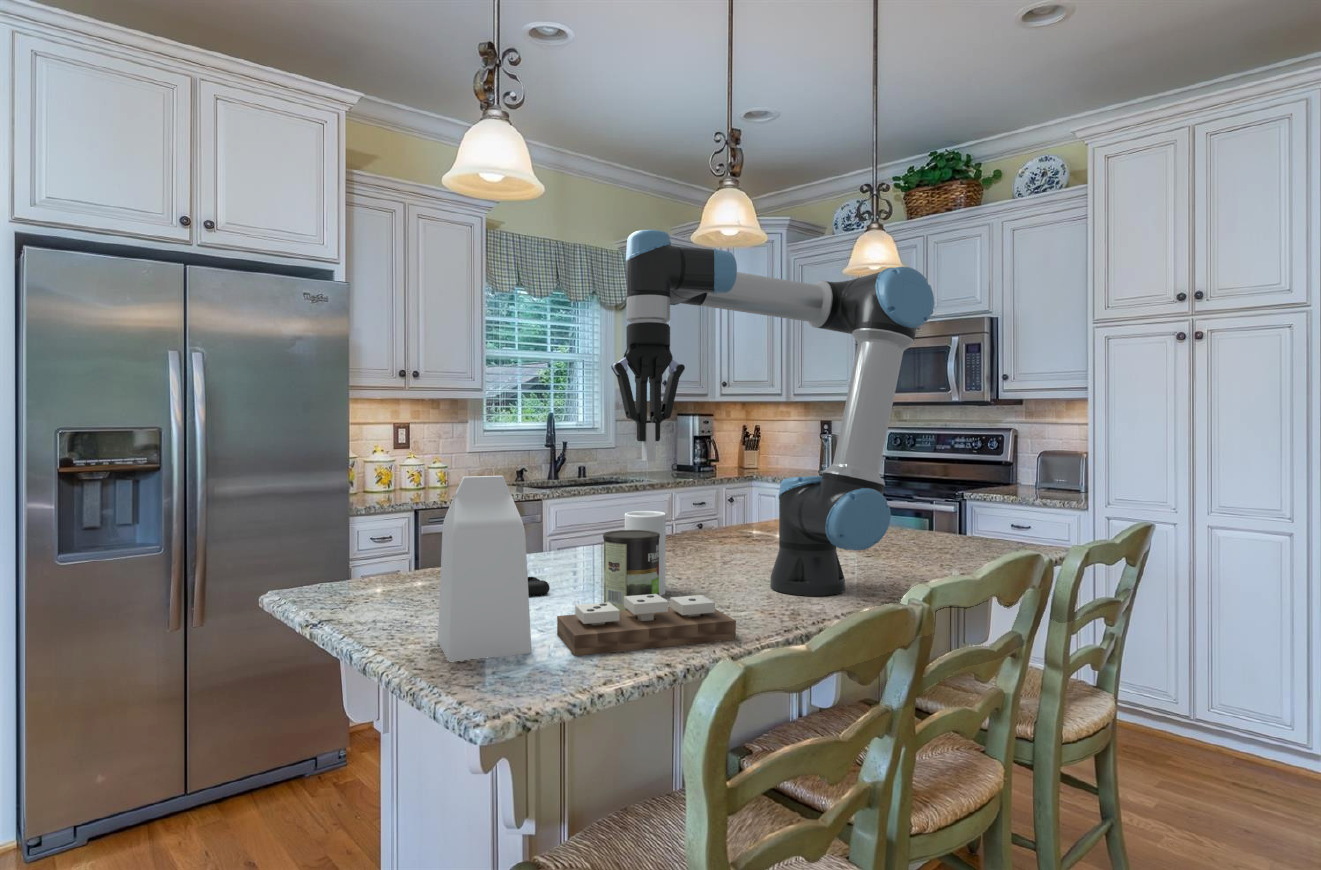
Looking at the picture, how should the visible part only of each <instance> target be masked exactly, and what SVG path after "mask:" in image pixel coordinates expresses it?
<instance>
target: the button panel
mask: <svg viewBox="0 0 1321 870" xmlns="http://www.w3.org/2000/svg"><path fill="white" fill-rule="evenodd" d="M556 617H557V618H556V632H557V633H556V635H557V637H558V638H559V639H560V640H561V641H562V642H563V643H564V645H565V647H567V649H568V650H569V651H570V652H571V654H572V655H573V656H574V657H577V656H587V655H595V654H596V655H597V654H606V653H607V654H608V653H614V652H625V651H626V652H628V651H636V650H645V649H657V648H665V647H666V648H667V647H675V646H685V645H695V644H705V643H714V642H715V643H716V642H724V641H732V640H733V641H734V640H736V639H737V637H736V636H737V620H736V619H734V618H732V617H730V616H729V615H728V614H725V613H724V612H722V611H719V610H718V609H716V608H715V612H714V613H702V614H700V616H694V617H686V616H685V615H681V614H680V613H678V612H677V611H675V610H674V609H672V608H671V607H670V606H668V612H657V613H654V620H649V621H639V620H638V614H633V613H632V612H630V611H629V610H623V611H619V621H611V622H605V624H604V625H593V626H590V625H589V623H588V624H584V623H583V622H582V621H581V620H580V619H579V618H578V617H577V616H576V615H575V614H566V615H565V614H564V615H556Z"/></svg>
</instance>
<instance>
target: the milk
mask: <svg viewBox="0 0 1321 870" xmlns="http://www.w3.org/2000/svg"><path fill="white" fill-rule="evenodd" d="M526 538H527V537H526V530H525V526H524V523H523V519H522V517H521V514H520V512H519V510H518V508H517V505H516V503H515V500H514V499H513V496H512V494H511V491H510V488H509V486H508V483H507V481H506V478H505V476H504V475H482V476H480V475H478V476H462V478H461V480H460V482H459V484H458V487H457V488H456V491H455V493H454V495H453V498H452V500H451V502H450V504H449V507H448V510H447V511H446V513H445V517H444V519H443V522H442V535H441V557H440V559H441V560H440V582H439V583H440V584H439V587H440V588H439V604H438V605H439V606H438V629H437V643H438V645H439V646H440V648H441V651H442V650H443V651H442V652H444V653H443V654H445V655H444V656H446V657H447V659H448V660H447V659H446V660H447V662H448V661H449V662H452V661H460V662H463V661H462V660H468V661H470V660H469V659H477V660H479V659H478V658H485V659H490V658H489V657H494V658H501V657H509V656H510V657H511V656H519V655H527V654H532V652H533V651H532V649H533V648H532V634H531V633H532V632H531V617H530V615H531V614H530V600H529V599H530V596H529V594H528V577H529V575H528V558H527V544H526V543H527V541H526ZM446 657H445V658H446ZM487 657H488V658H487ZM449 662H448V663H449ZM452 663H453V662H452Z"/></svg>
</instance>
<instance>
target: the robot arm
mask: <svg viewBox="0 0 1321 870" xmlns="http://www.w3.org/2000/svg"><path fill="white" fill-rule="evenodd" d="M625 252H626V254H625V265H626V266H625V269H626V270H625V271H626V321H627V322H628V324H627V325H626V335H625V336H626V337H625V338H626V348H625V349H626V350H625V352H624V354H623V358H622V359H620V360H619V361H617V362H615V363H614V362H613V363H612V364H611V366H610V367H611V370H612V371H613V373H614V375H615V377H616V379H617V383H618V387H619V392H620V396H621V401H622V403H623V410H624V413H625V417H626V418H627V419H628V420H632V421H634V422H635V423H636V440H637V442H641V461H643V462H656V442H660V441H661V423H662V422H663V421H665V420H667V419H668V420H669V419H670V418H671V416H672V414H673V413H672V412H673V408H674V404H675V398H676V394H677V391H678V386H679V382H680V377H681V376H682V374H683V373H684V370H685V368H686V367H685V365H684V364H682V363H681V364H680V363H678V362H677V361H675V359H674V357H673V354H672V352H671V326H670V324H668V322H670V320H671V306H676V305H679V304H682V305H683V304H684V305H690V306H697V307H698V306H700V307H706V308H707V307H708V308H713V309H714V308H715V309H719V310H727V311H732V312H733V311H734V312H740V313H748V314H755V315H761V316H768V317H774V318H781V319H788V320H794V321H795V320H796V321H802V322H808V324H809V326H810V327H812V328H815V329H823V330H827V331H833V332H839V333H844V334H850V335H852V337H853V338H854V340H855V341H856V342H857V348H856V352H855V358H854V362H853V366H852V371H851V376H850V381H849V385H848V391H847V395H846V400H845V403H844V409H843V413H842V418H841V424H840V429H839V434H838V437H837V441H836V442H837V443H836V448H835V453H834V457H833V462H832V464H831V465H830V466H828V467H827V468H826V469H824V470H822V475H810V476H794V477H787V478H784V479H782V481H780V483H779V492H778V503H779V504H778V508H779V509H778V513H779V514H778V515H779V516H778V518H779V520H778V521H779V522H778V523H779V525H778V529H779V530H778V533H779V534H778V544H779V545H778V553H777V556H776V559H775V561H774V564H773V568H772V571H771V574H770V585H769V586H770V588H771V589H772V590H774V591H776V592H780V593H782V594H783V593H784V594H787V595H788V594H790V595H796V596H810V597H812V596H813V597H819V596H821V597H824V596H832V595H838V594H842V593H843V592H845V591H846V578H845V575H844V573H843V568H842V565H841V562H840V558H839V556H838V551H837V549H840V550H841V549H843V550H846V551H847V550H849V551H851V550H852V551H863V550H864V551H865V550H868V549H870V548H872V547H873V546H875V545H876V544H878V543H879V542H880V541H881V540H882V539H883V538H884V536H885V535H886V534H887V532H888V529H889V527H890V523H891V518H892V517H891V516H892V514H891V508H890V507H891V506H890V505H889V504H888V500H887V499H886V497H885V496H884V490H885V484H886V483H885V482H884V481H883V478H882V477H881V476H880V474H879V473H880V468H881V463H882V458H883V454H884V449H885V444H886V438H887V433H888V429H889V424H890V418H891V413H892V410H893V404H894V400H895V399H894V398H895V396H896V395H895V394H896V390H897V385H898V379H899V375H900V371H901V365H902V360H903V355H904V351H906V350H907V349H909V348H910V347H911V346H913V345H914V343H915V338H916V333H917V328H919V327H920V326H922V325H924V324H925V322H927V321H928V320H929V319H930V317H931V316H932V314H933V312H934V311H933V310H934V308H935V298H934V292H933V289H932V286H931V285H930V284H929V282H928V280H927V278H926V277H925V275H923V274H922V273H921V272H920V271H918V270H917V269H915V268H913V267H909V266H897V267H896V266H895V267H887V268H885V269H883V270H882V271H879V272H875V273H871V274H868V275H865V276H862V277H857V278H854V279H849V280H843V281H827V280H819V281H817V282H816V283H815V284H813V283H807V282H800V281H796V280H789V279H784V278H778V277H770V276H764V275H757V274H754V273H753V274H752V273H746V272H740V271H738V265H737V260H736V257H735V256H734V254H733V253H732V252H730V251H728V250H722V249H718V248H702V247H701V248H699V247H685V246H684V247H683V246H676V245H672V241H671V237H670V234H668V232H666V231H661V230H659V229H642V230H641V229H640V230H636V231H634V232H632V233H631V234H630V235H629V236H628V237H627V241H626V251H625ZM628 367H629V368H628ZM628 369H630V370H631V372H632V373H633V375H634V383H635V398H634V394H633V390H632V388H631V383H630V378H629V375H628V373H627V372H628ZM667 369H668V376H667V380H666V384H665V389H664V393H663V397H662V382H663V374H665V371H666V370H667ZM648 383H649V421H650V422H647V421H648ZM634 399H635V401H634Z"/></svg>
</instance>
